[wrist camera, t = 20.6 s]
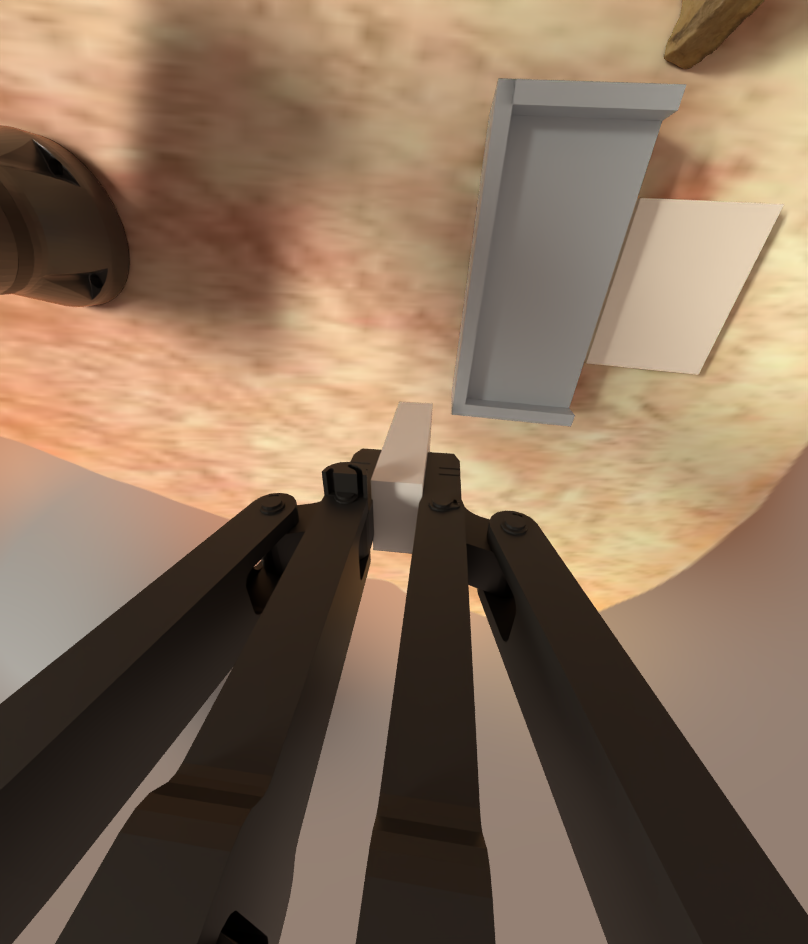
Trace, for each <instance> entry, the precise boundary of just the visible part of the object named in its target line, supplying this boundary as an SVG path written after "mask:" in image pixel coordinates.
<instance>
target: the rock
mask: <svg viewBox="0 0 808 944" xmlns="http://www.w3.org/2000/svg"><path fill="white" fill-rule="evenodd" d="M763 1H764V0H682V9H681V14H680V18H679V20H678V22H677V24H676V25H675V28H674V30H673V32H672V35H671V36H670V38H669V40H668V43H667V45H666V51H665V55H664V59H665V60H667V61H669V62H671V63H674V64H675V65H677V66H679V67H681V68H684V69H688V68H691V67H692V66H694V65H696V64H697V63H699V62H701V61H702V59H703V58H704V57H705V56H707V55H709V54H711V53H713V51H715V50H716V49H717V48H718V47H719V46H720V45H721V44H722V43H723V42H724V41H725V39H726V38H727V37H728V36H729V35H730V34H731V33H732V32H733V31H734V30H735V29H736V28H737V27H738V26H739V25H740V24H741V23H742V22H743V20H745V19H746V18H747V17H748V16H750V15H751V14H752V13H753V12H754V11H755V10H756V9H757V8H758V7H759V6H760V5H761V4H762V3H763Z"/></svg>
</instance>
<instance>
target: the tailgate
mask: <svg viewBox="0 0 808 944" xmlns="http://www.w3.org/2000/svg"><path fill="white" fill-rule="evenodd" d="M783 206H784V204H770V203H747V202H724V201H701V200H679V199H656V198H639V199H637V200H636V203H635V207H634V210H633V213H632V216H631V219H630V222H629V225H628V228H627V231H626V234H625V237H624V240H623V244H622V247H621V250H620V253H619V256H618V259H617V262H616V265H615V268H614V271H613V274H612V277H611V281H610V284H609V287H608V290H607V293H606V296H605V299H604V302H603V305H602V308H601V311H600V314H599V317H598V321H597V324H596V327H595V330H594V333H593V336H592V339H591V342H590V345H589V348H588V351H587V354H586V358H585V362H586V363H588V364H598V365H608V366H618V367H628V368H638V369H647V370H657V371H667V372H677V373H687V374H697V375H699V373H700V371H701V369H702V367H703V365H704V363H705V361H706V359H707V357H708V355H709V353H710V351H711V349H712V347H713V345H714V343H715V341H716V339H717V337H718V335H719V333H720V331H721V329H722V327H723V325H724V323H725V321H726V319H727V317H728V315H729V313H730V311H731V309H732V307H733V305H734V303H735V301H736V299H737V297H738V295H739V293H740V291H741V289H742V287H743V285H744V283H745V281H746V279H747V277H748V275H749V273H750V271H751V269H752V267H753V265H754V263H755V261H756V259H757V257H758V255H759V253H760V251H761V249H762V247H763V245H764V243H765V241H766V239H767V237H768V235H769V233H770V231H771V229H772V227H773V225H774V223H775V221H776V219H777V217H778V216H779V214H780V212H781V210H782V208H783Z"/></svg>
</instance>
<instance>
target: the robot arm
mask: <svg viewBox="0 0 808 944" xmlns="http://www.w3.org/2000/svg"><path fill="white" fill-rule="evenodd" d="M128 271H129V251H128V244H127V240H126V236H125V232H124V229H123V226H122V223H121V220H120V218H119V216H118V213H117V211H116V209H115V207H114V205H113V203H112V202H111V200H110V198H109V197H108V195H107V193H106V192H105V190H104V189H103V187H102V186H101V184H100V183H99V182H98V180H97V179H96V178H95V177H94V175H93V174H92V173H91V172H90V171H89V170H88V169H87V168H86V167H85V166H84V164H83V163H82V162H80V161H79V160H78V159H77V158H76V157H75V156H74V155H73V154H71V153H70V152H69V151H67V150H66V149H65V148H63V147H62V146H60V145H59V144H57V143H55V142H53V141H52V140H50V139H47V138H45V137H43V136H40V135H37V134H34V133H30V132H27V131H24V130H20V129H17V128H14V127H9V126H0V295H3V294H15V295H19V296H24V297H28V298H33V299H37V300H42V301H46V302H51V303H55V304H60V305H64V306H72V307H84V306H92V305H100V304H104V303H107V302H109V301H111V300H112V299H114V298H115V297H116V296H117V295H118V294H119V293H120V292H121V290H122V289H123V287H124V285H125V283H126V280H127V276H128ZM432 406H433V404H431V403H413V402H399V404H398V407H397V409H396V412H395V415H394V418H393V420H392V423H391V426H390V429H389V431H388V434H387V437H386V440H385V442H384V445H383V448H382V450H376V449H361V450H360V451H358V452H357V453H355V454H354V456H353V458H352V460H351V462H340V463H336V464H332V465H330V466H328V467H326V468H325V469H324V470H323V471H322V478H323V486H324V494H325V495H324V497H323V499H322V501H320V502H317V503H312V504H304V505H297V503H296V500H295V499H294V497H293V496H291V495H288V494H284V493H273V494H268V495H265V496H262V497H260V498H258V499H257V500H255V501H254V502H252V503H251V504H250V505H249V506H247V507H246V508H245V509H244V510H242V511H241V512H240V513H239V514H237V515H236V516H235V517H234V518H232V519H231V520H230V521H229V522H227V523H226V524H225V525H224V526H222V527H221V528H220V529H219V530H217V531H216V532H215V533H214V534H212V535H211V536H210V537H209V538H207V539H206V540H205V541H204V542H202V543H201V544H200V545H198V546H197V547H196V548H195V549H194V550H192V551H191V552H190V553H189V554H187V555H186V556H185V557H184V558H182V559H181V560H180V561H179V562H177V563H176V564H175V565H174V566H172V567H171V568H170V569H168V570H167V571H166V572H165V573H163V575H161V576H160V577H158V578H157V579H156V580H155V581H153V582H152V583H151V584H150V585H148V586H147V587H146V588H145V589H143V590H142V591H141V592H140V593H139V594H137V595H136V596H135V597H134V598H132V599H131V600H130V601H128V602H127V603H126V604H125V605H124V606H122V607H121V608H120V609H118V610H117V611H116V612H115V613H113V614H112V615H111V616H110V617H109V618H107V619H106V620H105V621H103V622H102V623H101V624H100V625H99V626H97V627H96V628H95V629H94V630H92V631H91V632H90V633H89V634H87V635H86V636H85V637H84V638H82V639H81V640H80V641H78V642H77V643H76V644H75V645H74V646H72V647H71V648H70V649H68V651H66V652H65V653H63V654H62V655H61V656H60V657H59V658H57V659H56V660H55V661H53V662H52V663H51V664H50V665H48V666H47V667H46V668H45V669H43V670H42V671H41V672H40V673H38V674H37V675H36V676H35V677H33V678H32V679H31V680H30V681H28V682H27V683H26V684H25V685H23V686H22V687H21V688H20V689H18V690H17V691H16V692H15V693H14V694H12V695H11V696H10V697H8V698H7V699H6V700H5V701H3V702H2V703H1V704H0V944H12V943H13V942H14V941H15V939H16V938H17V937H18V936H19V935H20V934H21V932H22V931H23V930H24V929H25V928H26V926H27V925H28V924H29V923H30V922H31V920H32V919H33V918H34V916H36V914H37V913H38V912H39V911H40V910H41V908H42V907H43V906H44V905H45V904H46V902H47V901H48V900H49V899H50V897H51V896H52V895H53V894H54V893H55V891H56V890H57V889H58V888H59V886H60V885H61V884H62V883H63V881H64V880H65V879H66V877H67V876H68V875H69V874H70V872H71V871H72V870H73V869H74V867H75V866H76V865H77V864H78V862H79V861H80V860H81V859H82V857H83V856H84V855H85V854H86V852H87V851H88V850H89V848H90V847H91V846H92V845H93V843H94V842H95V841H96V840H97V838H98V837H99V836H100V834H101V833H102V832H103V831H104V829H105V828H106V827H107V826H108V824H109V823H110V822H111V821H112V819H113V818H114V817H115V816H116V814H117V813H118V812H119V810H120V809H121V808H122V807H123V805H124V804H125V803H126V801H127V800H128V799H129V798H130V797H131V795H132V794H133V793H134V791H135V790H136V789H137V788H138V786H139V785H140V784H141V782H142V781H143V780H144V779H145V777H146V776H147V775H148V774H149V773H150V771H151V770H152V769H153V767H154V766H155V765H156V764H157V762H158V761H159V760H160V759H161V757H162V756H163V755H164V754H165V752H166V751H167V750H168V748H169V747H170V746H171V744H172V743H173V742H174V741H175V740H176V738H177V737H178V736H179V734H180V733H181V732H182V730H183V729H184V728H185V727H186V726H187V724H188V723H189V722H190V721H191V719H192V718H193V717H194V716H195V714H196V713H197V712H198V710H199V709H200V708H201V707H202V705H203V704H204V703H205V702H206V700H207V699H208V698H209V696H210V695H211V694H212V693H213V692H214V690H215V689H216V688H217V686H218V685H219V684H220V682H221V681H222V680H223V679H224V677H225V676H226V675H227V674H228V673H229V671H230V670H231V669H232V667H233V666H234V667H233V669H232V671H231V672H230V674H229V676H228V678H227V680H226V682H225V684H224V686H223V687H222V689H221V691H220V693H219V695H218V697H217V699H216V701H215V702H214V704H213V706H212V708H211V710H210V712H209V714H208V716H207V717H206V719H205V722H204V723H203V725H202V727H201V729H200V731H199V733H198V734H197V737H196V738H195V740H194V742H193V744H192V746H191V748H190V750H189V751H188V753H187V755H186V757H185V759H184V761H183V763H182V764H181V766H180V767H179V770H178V771H177V772H176V774H175V775H174V776H173V777H172V778H171V779H170V780H169V782H167V783H166V784H164V785H162V786H161V787H159V788H157V789H156V790H154V791H152V792H150V793H149V794H148V795H147V797H145V799H144V800H143V801H142V802H141V803H140V804H139V805H138V806H137V807H136V808H135V810H134V811H133V813H132V814H131V816H130V817H129V819H128V820H127V822H126V823H125V825H124V826H123V828H122V829H121V831H120V832H119V834H118V836H117V837H116V839H115V841H114V843H113V845H112V846H111V848H110V849H109V851H108V853H107V855H106V856H105V858H104V860H103V862H102V863H101V865H100V867H99V869H98V870H97V872H96V874H95V876H94V877H93V879H92V881H91V883H90V884H89V886H88V888H87V889H86V891H85V893H84V895H83V896H82V898H81V900H80V901H79V903H78V905H77V907H76V908H75V910H74V912H73V914H72V915H71V917H70V919H69V921H68V922H67V924H66V926H65V928H64V929H63V931H62V933H61V934H60V936H59V938H58V940H57V941H56V943H55V944H278V943H279V940H280V936H281V932H282V928H283V924H284V920H285V916H286V911H287V907H288V903H289V898H290V893H291V887H292V881H293V872H294V861H295V853H296V847H297V843H298V838H299V834H300V830H301V826H302V823H303V819H304V815H305V811H306V807H307V803H308V800H309V796H310V792H311V788H312V784H313V781H314V777H315V773H316V769H317V765H318V761H319V758H320V754H321V750H322V746H323V742H324V739H325V734H326V731H327V727H328V723H329V719H330V715H331V711H332V708H333V704H334V700H335V696H336V692H337V689H338V684H339V681H340V677H341V673H342V670H343V666H344V661H345V658H346V654H347V650H348V646H349V643H350V639H351V635H352V631H353V627H354V624H355V619H356V616H357V612H358V608H359V604H360V601H361V597H362V593H363V589H364V585H365V581H366V578H367V574H368V570H369V566H370V562H371V556H370V549H371V545H372V542H373V550H379V551H389V552H400V553H410V554H412V559H411V566H410V574H409V581H408V588H407V597H406V604H405V612H404V618H403V626H402V633H401V641H400V648H399V656H398V663H397V670H396V678H395V685H394V693H393V700H392V708H391V715H390V722H389V730H388V737H387V745H386V752H385V759H384V767H383V775H382V782H381V789H380V797H379V804H378V809H377V815H376V819H375V823H374V827H373V831H372V837H371V843H370V848H369V855H368V861H367V868H366V875H365V882H364V890H363V896H362V903H361V910H360V917H359V924H358V931H357V939H356V944H495V929H494V914H493V898H492V887H491V875H490V866H489V859H488V852H487V847H486V844H485V840H484V837H483V833H482V828H481V818H480V803H479V784H478V765H477V764H478V763H477V744H476V724H475V706H474V686H473V666H472V649H471V648H472V646H471V629H470V628H471V627H470V608H469V588H468V585H470V586H473V587H475V588H477V591H478V595H479V598H480V601H481V603H482V606H483V609H484V611H485V614H486V617H487V619H488V622H489V625H490V627H491V630H492V633H493V636H494V638H495V641H496V644H497V646H498V649H499V652H500V654H501V657H502V659H503V662H504V665H505V668H506V670H507V673H508V676H509V679H510V681H511V684H512V686H513V689H514V692H515V695H516V697H517V700H518V703H519V706H520V708H521V711H522V714H523V716H524V719H525V721H526V724H527V727H528V730H529V732H530V735H531V738H532V741H533V743H534V746H535V749H536V751H537V754H538V757H539V759H540V762H541V765H542V767H543V770H544V773H545V776H546V778H547V781H548V784H549V786H550V789H551V792H552V794H553V797H554V799H555V802H556V805H557V808H558V810H559V813H560V816H561V819H562V821H563V824H564V826H565V829H566V832H567V835H568V837H569V840H570V843H571V846H572V848H573V851H574V854H575V856H576V859H577V861H578V864H579V867H580V870H581V872H582V875H583V878H584V881H585V883H586V886H587V888H588V891H589V894H590V896H591V899H592V902H593V905H594V907H595V910H596V913H597V915H598V918H599V921H600V924H601V926H602V929H603V932H604V934H605V937H606V940H607V942H608V944H808V915H807V913H806V912H805V910H804V909H803V907H802V906H801V905H800V903H799V902H798V900H797V899H796V897H795V896H794V894H793V893H792V891H791V890H790V889H789V887H788V886H787V884H786V883H785V881H784V880H783V878H782V877H781V876H780V874H779V873H778V871H777V870H776V868H775V867H774V865H773V864H772V863H771V861H770V860H769V858H768V857H767V855H766V854H765V852H764V851H763V850H762V848H761V847H760V845H759V844H758V843H757V841H756V839H755V838H754V837H753V836H752V834H751V832H750V831H749V829H748V828H747V827H746V825H745V824H744V822H743V821H742V819H741V818H740V816H739V815H738V814H737V812H736V811H735V809H734V808H733V806H732V805H731V804H730V802H729V800H728V799H727V798H726V796H725V795H724V793H723V792H722V790H721V789H720V787H719V786H718V785H717V783H716V782H715V780H714V779H713V777H712V776H711V774H710V773H709V772H708V770H707V769H706V767H705V766H704V764H703V763H702V761H701V760H700V759H699V757H698V756H697V754H696V753H695V751H694V750H693V748H692V747H691V746H690V744H689V743H688V741H687V740H686V738H685V737H684V736H683V734H682V732H681V731H680V730H679V728H678V727H677V725H676V724H675V722H674V721H673V720H672V718H671V717H670V715H669V714H668V712H667V711H666V709H665V708H664V706H663V705H662V704H661V702H660V701H659V699H658V698H657V696H656V695H655V694H654V692H653V691H652V689H651V688H650V686H649V685H648V684H647V682H646V681H645V679H644V678H643V676H642V675H641V673H640V672H639V670H638V669H637V668H636V666H635V665H634V663H633V662H632V660H631V659H630V657H629V656H628V654H627V653H626V652H625V650H624V649H623V648H622V646H621V644H620V643H619V642H618V640H617V639H616V637H615V636H614V634H613V633H612V631H611V630H610V628H609V627H608V626H607V624H606V623H605V621H604V620H603V618H602V617H601V615H600V614H599V613H598V611H597V610H596V608H595V607H594V605H593V604H592V602H591V601H590V600H589V598H588V597H587V595H586V594H585V592H584V591H583V589H582V588H581V586H580V585H579V584H578V582H577V581H576V579H575V578H574V576H573V575H572V573H571V572H570V571H569V569H568V568H567V566H566V565H565V563H564V562H563V560H562V559H561V558H560V556H559V555H558V553H557V552H556V550H555V549H554V547H553V546H552V545H551V543H550V542H549V540H548V539H547V537H546V536H545V534H544V533H543V532H542V530H541V529H540V527H539V526H538V524H537V523H536V522H535V521H534V520H533V519H532V518H530V517H528V516H526V515H525V514H522V513H519V512H515V511H501V512H497V513H496V514H494V515H492V516H491V519H486V518H483V517H480V516H478V515H475V514H473V513H471V512H470V511H468V510H467V509H466V508H465V507H464V504H463V502H462V500H461V480H460V461H459V460H458V458H457V457H456V456H455V455H454V454H447V453H433V452H430V437H431V422H432ZM260 560H261V562H260V563H259V564H258V565H257V566H255V565H256V564H257V563H258V562H259V561H260ZM254 566H255V567H254Z"/></svg>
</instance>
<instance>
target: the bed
mask: <svg viewBox="0 0 808 944" xmlns="http://www.w3.org/2000/svg"><path fill="white" fill-rule="evenodd" d="M685 88H686V84H655V83H624V82H593V81H563V80H532V79H501V78H499V79H498V83H497V87H496V90H495V94H494V98H493V102H492V106H491V110H490V114H489V121H488V128H487V135H486V143H485V150H484V158H483V165H482V172H481V180H480V187H479V195H478V202H477V209H476V217H475V224H474V232H473V239H472V246H471V254H470V261H469V269H468V276H467V284H466V291H465V298H464V306H463V313H462V321H461V328H460V335H459V343H458V350H457V358H456V365H455V372H454V380H453V387H452V415H462V416H472V417H482V418H492V419H502V420H511V421H521V422H531V423H541V424H551V425H561V426H571V425H572V422H573V419H574V416H575V415H574V414H573V412H572V411H571V410H570V409H569V407H570V404H571V401H572V398H573V395H574V391H575V388H576V385H577V382H578V379H579V376H580V373H581V370H582V367H583V364H584V361H585V358H586V354H587V351H588V348H589V345H590V342H591V339H592V336H593V333H594V330H595V327H596V324H597V321H598V317H599V314H600V311H601V308H602V305H603V302H604V299H605V296H606V293H607V290H608V287H609V284H610V281H611V277H612V274H613V271H614V268H615V265H616V262H617V259H618V256H619V253H620V250H621V247H622V244H623V240H624V237H625V234H626V231H627V228H628V225H629V222H630V219H631V216H632V213H633V210H634V207H635V203H636V200H637V197H638V194H639V191H640V188H641V185H642V182H643V179H644V176H645V173H646V170H647V166H648V163H649V160H650V157H651V154H652V151H653V148H654V145H655V142H656V139H657V136H658V133H659V129H660V126H661V123H662V121H663V120H664V119H666V118H667V117H669V116H670V115H672V114H673V113H675V112H676V111H678V108H679V105H680V102H681V99H682V96H683V93H684V91H685Z"/></svg>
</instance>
